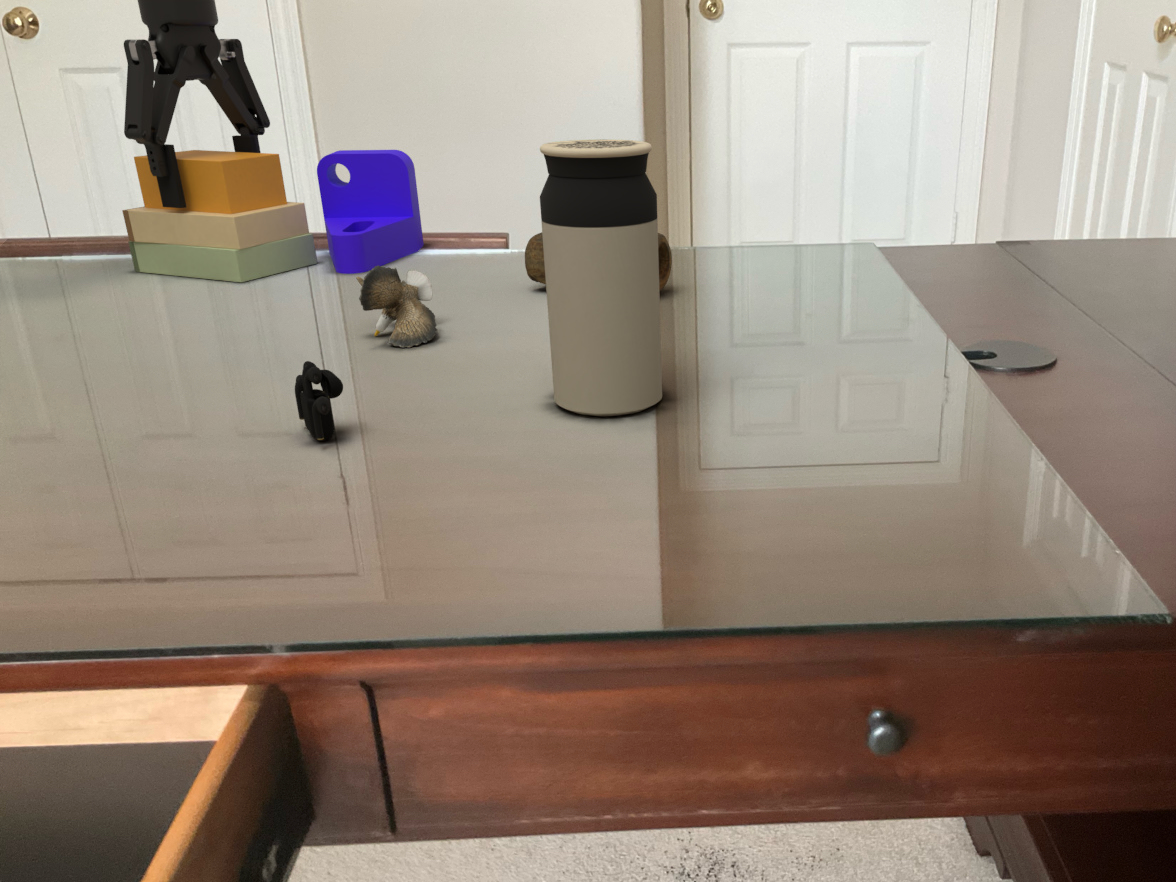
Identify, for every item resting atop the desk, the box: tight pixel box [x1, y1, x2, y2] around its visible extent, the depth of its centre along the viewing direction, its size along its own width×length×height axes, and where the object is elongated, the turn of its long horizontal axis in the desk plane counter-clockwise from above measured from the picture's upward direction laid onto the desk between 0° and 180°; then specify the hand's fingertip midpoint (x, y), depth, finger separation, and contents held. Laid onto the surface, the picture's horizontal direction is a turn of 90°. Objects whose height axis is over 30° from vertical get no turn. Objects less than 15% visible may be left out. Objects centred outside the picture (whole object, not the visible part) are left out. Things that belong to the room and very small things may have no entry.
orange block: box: [133, 149, 288, 214], centre depth 123 cm, size 13×8×6 cm, turn 67°
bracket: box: [316, 149, 425, 275], centre depth 129 cm, size 18×11×12 cm, turn 5°
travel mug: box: [539, 138, 663, 417], centre depth 76 cm, size 8×8×18 cm
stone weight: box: [524, 231, 673, 292], centre depth 113 cm, size 15×7×7 cm, turn 76°
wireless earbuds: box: [294, 360, 344, 442], centre depth 72 cm, size 7×2×5 cm, turn 32°
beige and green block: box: [122, 201, 318, 283], centre depth 125 cm, size 16×12×7 cm
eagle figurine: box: [355, 266, 438, 349], centre depth 97 cm, size 8×7×9 cm
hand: (215, 200), depth 124 cm, fingers open, 11 cm apart
